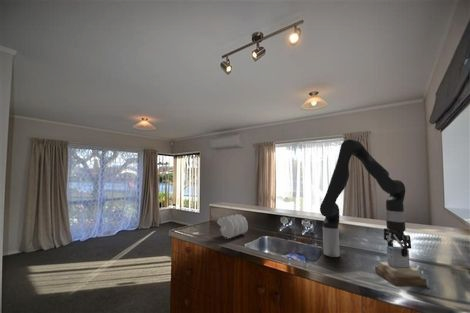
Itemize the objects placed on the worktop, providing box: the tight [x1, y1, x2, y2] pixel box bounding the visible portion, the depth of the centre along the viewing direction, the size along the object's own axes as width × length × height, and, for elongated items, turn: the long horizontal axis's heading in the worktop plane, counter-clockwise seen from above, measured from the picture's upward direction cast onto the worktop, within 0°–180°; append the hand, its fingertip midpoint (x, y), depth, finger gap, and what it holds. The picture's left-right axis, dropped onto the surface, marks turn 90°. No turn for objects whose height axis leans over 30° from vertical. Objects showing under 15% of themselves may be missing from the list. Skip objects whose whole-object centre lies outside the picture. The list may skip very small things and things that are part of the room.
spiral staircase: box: [216, 213, 249, 239], centre depth 175 cm, size 18×18×25 cm
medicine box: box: [386, 246, 411, 268], centre depth 103 cm, size 8×4×9 cm, turn 91°
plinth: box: [374, 261, 428, 287], centre depth 103 cm, size 14×14×6 cm
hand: (397, 253), depth 104 cm, fingers open, 8 cm apart
